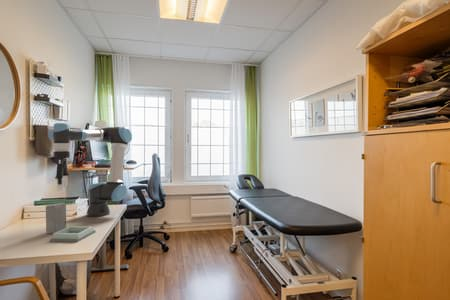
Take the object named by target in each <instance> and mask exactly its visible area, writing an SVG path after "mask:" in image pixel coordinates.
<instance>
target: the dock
mask: <svg viewBox="0 0 450 300" xmlns="http://www.w3.org/2000/svg"><path fill="white" fill-rule="evenodd" d="M95 233H96V229H95V230H94V226H77V225H75V226H71V225H70V226H66V228H65V229H62V230H60V231H58V232H56V233H53V234H52V238H50V239H49V242H55V243H57V242H58V243H60V242H61V243H79V242H81V241H82V240H84V239H86V238H87V237H90V236H91V235H94V234H95Z"/></svg>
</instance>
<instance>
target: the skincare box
mask: <svg viewBox="0 0 450 300" xmlns="http://www.w3.org/2000/svg"><path fill="white" fill-rule="evenodd" d="M65 228H67V204H66V203H51V204H49V205H45V234H51V235H53V233H56V232H58V231H60V230H62V229H65Z"/></svg>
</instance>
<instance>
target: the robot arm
mask: <svg viewBox="0 0 450 300" xmlns="http://www.w3.org/2000/svg"><path fill="white" fill-rule="evenodd" d="M47 134H48V135H47V136H48V138H49V140H50V141H51V142H53V144H52V147H53V157H54V158H55V159H57V160H56V174H55V177H54V178H55V179H56V187H57V188H56V190H57V191H58V192H60V191H64V188H67V187H68V186H69V185H68V176H69V175H70V174H69V173H68V172H69V171H68V164H67V163H68V162H67V161H68V160H67V159H69V158H70V157H71V152H70V150H71V147H70V146H71V145H70V142H71V141H73V142H74V141H75V142H76V141H77V142H78V141H79V142H81V141H82V142H83V141H95V142H99V143H100V142H101V143H110V145H111V146H112V149H111V159H110V160H111V161H110V169H109V176H108V180H107V181H102V182H96V183H95V182H94V183H91V184H89V188H88V198H89V203H88V204H89V206H88V207H87V211H86V216H87V217H91V218H97V217H103V216H107V215H110V213H111V210H110V208H109V204H108V202H109V201H110V202H111V201H112V202H120V201H122V200H124V198H125V197H126V195H127V190H128V189H127V186H126V185H125V182H124V180H123V173H124V172H123V171H124V163H125V162H124V161H125V152H126V148H127V147H128V146H129V143H131V141H132V138H133V134H132V132H131V129H129V127H126V126H113V127H111V126H110V127H103V128H95V129H86V128H85V129H84V128H81V127H80V128H76V127H70V125H69V123H63V122H55V123H54V124H53V127H52V129H50V130H49V131H48V133H47Z"/></svg>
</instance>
